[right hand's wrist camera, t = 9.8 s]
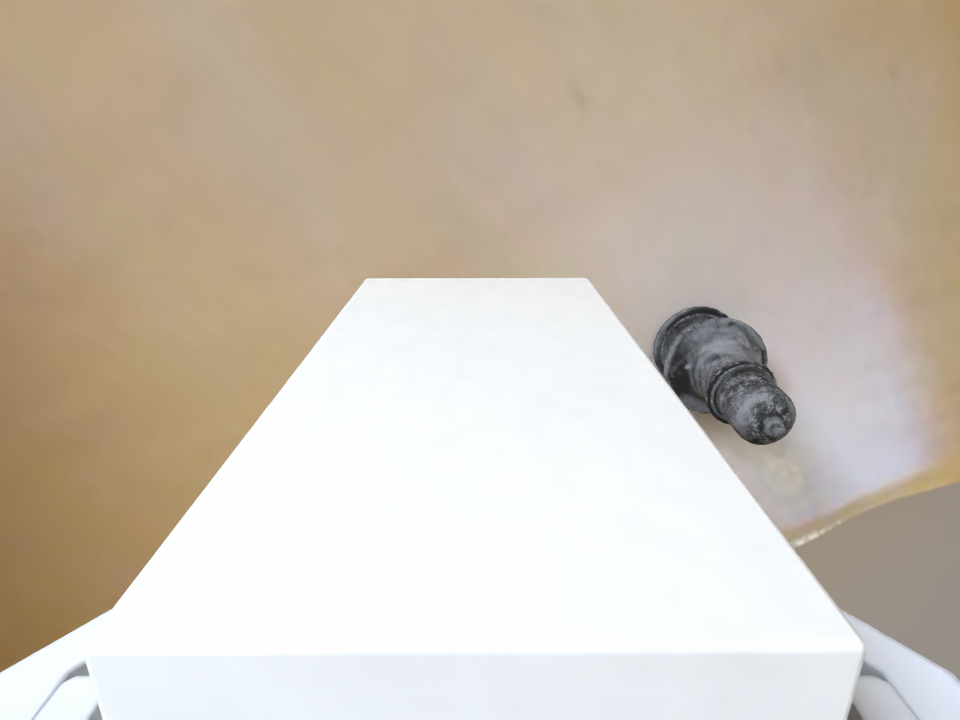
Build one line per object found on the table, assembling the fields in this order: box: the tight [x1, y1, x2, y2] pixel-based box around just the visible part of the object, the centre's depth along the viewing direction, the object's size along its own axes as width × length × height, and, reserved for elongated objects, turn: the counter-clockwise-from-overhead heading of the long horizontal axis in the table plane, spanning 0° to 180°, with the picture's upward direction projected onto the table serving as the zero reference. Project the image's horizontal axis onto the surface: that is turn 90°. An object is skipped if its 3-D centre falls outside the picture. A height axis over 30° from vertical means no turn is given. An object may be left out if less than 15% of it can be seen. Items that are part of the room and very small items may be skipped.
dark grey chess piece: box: [654, 307, 796, 445], centre depth 33 cm, size 6×6×12 cm
